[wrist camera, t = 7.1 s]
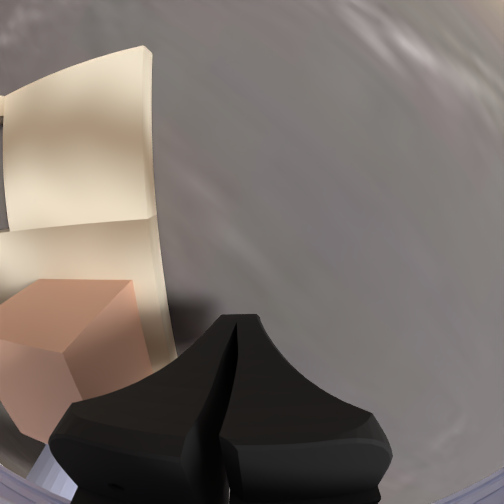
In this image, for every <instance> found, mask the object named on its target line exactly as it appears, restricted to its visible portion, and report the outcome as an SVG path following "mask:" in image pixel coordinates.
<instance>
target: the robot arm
mask: <svg viewBox="0 0 504 504" xmlns="http://www.w3.org/2000/svg"><path fill="white" fill-rule="evenodd" d="M45 444H46V443H45ZM392 457H393V455H392V450H391V447H390V444H389V442H388V439H387V437H386V435H385V433H384V432H383V430H382V428H381V426H380V425H379V423H378V422H377V420H376V418H375V417H374V415H373V414H372V413H370V412H368V411H365V410H363V409H360V408H358V407H356V406H353V405H351V404H348V403H346V402H344V401H342V400H340V399H338V398H336V397H334V396H332V395H330V394H329V393H327V392H325V391H324V390H322V389H320V388H319V387H318V386H316V385H315V384H313V383H312V382H310V381H309V380H308V379H306V378H305V377H304V376H303V375H302V374H300V373H299V372H298V371H297V370H296V369H295V368H294V367H293V366H292V365H291V364H290V363H289V362H288V361H287V360H286V359H285V358H284V356H283V355H282V354H281V353H280V352H279V350H278V349H277V348H276V346H275V345H274V344H273V342H272V341H271V339H270V338H269V336H268V335H267V333H266V331H265V329H264V327H263V325H262V323H261V321H260V317H259V316H258V315H257V314H231V315H221V316H220V317H219V318H218V319H217V320H216V321H215V322H214V323H213V324H212V326H211V327H210V328H209V329H208V330H207V331H206V332H205V333H204V334H203V335H202V336H201V337H200V338H199V339H198V340H197V341H196V342H195V343H194V344H193V345H192V346H191V347H190V348H189V349H187V350H186V351H185V352H184V353H183V354H182V355H180V356H179V357H178V358H176V359H175V360H174V361H172V362H171V363H169V364H168V365H166V366H165V367H163V368H162V369H160V370H158V371H157V372H155V373H153V374H151V375H149V376H147V377H146V378H144V379H142V380H140V381H138V382H136V383H134V384H131V385H129V386H127V387H124V388H122V389H119V390H116V391H114V392H111V393H108V394H105V395H102V396H98V397H94V398H90V399H86V400H82V401H78V402H73V403H71V405H70V406H69V408H68V409H67V411H66V412H65V414H64V415H63V417H62V418H61V420H60V421H59V423H58V424H57V426H56V427H55V429H54V431H53V432H52V434H51V435H50V437H49V440H48V444H46V446H45V447H44V449H43V451H42V452H41V454H40V456H39V457H38V459H37V461H36V462H35V464H34V466H33V467H32V469H31V471H30V472H29V474H28V476H27V478H26V479H24V478H22V477H21V476H19V475H17V474H15V473H13V472H12V471H10V470H8V469H7V468H5V467H3V466H2V465H0V504H378V502H379V501H380V500H381V495H380V492H379V489H378V484H379V483H380V481H381V479H382V478H383V476H384V474H385V472H386V471H387V469H388V467H389V465H390V463H391V460H392ZM229 487H230V499H229ZM430 504H504V467H503V468H502V469H500V470H498V471H497V472H495V473H493V474H491V475H490V476H488V477H486V478H484V479H482V480H481V481H479V482H477V483H475V484H473V485H471V486H469V487H467V488H465V489H463V490H461V491H458V492H456V493H454V494H452V495H450V496H447V497H445V498H443V499H440V500H438V501H435V502H433V503H430Z"/></svg>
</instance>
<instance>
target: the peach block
mask: <svg viewBox="0 0 504 504" xmlns="http://www.w3.org/2000/svg"><path fill="white" fill-rule="evenodd" d="M151 374H153V370H152V366H151V362H150V359H149V355H148V351H147V347H146V343H145V339H144V334H143V330H142V326H141V321H140V316H139V312H138V307H137V302H136V297H135V291H134V286H133V280H87V279H39V280H37V281H35V282H34V283H32V284H31V285H29V286H28V287H26V288H25V289H23V290H21V291H20V292H18V293H17V294H15V295H14V296H12V297H11V298H9V299H8V300H6V301H5V302H4V303H2V304H1V305H0V400H1V402H2V404H3V405H4V407H5V409H6V410H7V412H8V414H9V415H10V417H11V418H12V420H13V421H14V423H15V424H16V426H17V427H18V429H19V430H20V432H21V433H22V434H25V435H27V436H29V437H31V438H34V439H36V440H38V441H41V442H43V443H46V444H48V440H49V437H50V435H51V434H52V432H53V431H54V429H55V427H56V426H57V424H58V423H59V421H60V420H61V418H62V417H63V415H64V414H65V412H66V411H67V409H68V408H69V406H70V405H71V403H73V402H78V401H82V400H86V399H90V398H94V397H98V396H102V395H105V394H108V393H111V392H114V391H116V390H119V389H122V388H124V387H127V386H129V385H131V384H134V383H136V382H138V381H140V380H142V379H144V378H146V377H147V376H149V375H151Z"/></svg>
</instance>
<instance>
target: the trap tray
mask: <svg viewBox="0 0 504 504" xmlns="http://www.w3.org/2000/svg"><path fill="white" fill-rule="evenodd" d="M151 86H152V53H151V52H150V51H149V50H148V49H147V48H146V47H145V46H144V45H143V46H139V47H135V48H131V49H127V50H123V51H119V52H115V53H112V54H108V55H105V56H101V57H98V58H95V59H92V60H89V61H86V62H83V63H80V64H77V65H74V66H72V67H69V68H66V69H64V70H61V71H58V72H56V73H54V74H51V75H49V76H46V77H44V78H42V79H39V80H37V81H35V82H33V83H31V84H28V85H26V86H24V87H22V88H20V89H18V90H16V91H14V92H12V93H10V94H8V95H7V96H0V125H1V124H3V171H4V187H5V198H6V207H7V215H8V222H9V229H3V230H0V305H1V304H2V303H4V302H5V301H6V300H8V299H9V298H11V297H12V296H14V295H15V294H17V293H18V292H20V291H21V290H23V289H25V288H26V287H28V286H29V285H31V284H32V283H34V282H35V281H37V280H39V279H87V280H133V286H134V291H135V297H136V302H137V307H138V312H139V316H140V321H141V326H142V330H143V334H144V339H145V343H146V347H147V351H148V355H149V359H150V362H151V366H152V370H153V373H155V372H157V371H158V370H160V369H162V368H163V367H165V366H166V365H168V364H169V363H171V362H172V361H174V360H175V359H176V358H178V357H177V352H176V347H175V342H174V336H173V331H172V325H171V319H170V314H169V307H168V301H167V295H166V288H165V281H164V274H163V267H162V259H161V251H160V242H159V233H158V223H157V212H156V201H155V187H154V172H153V152H152V116H151Z"/></svg>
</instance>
